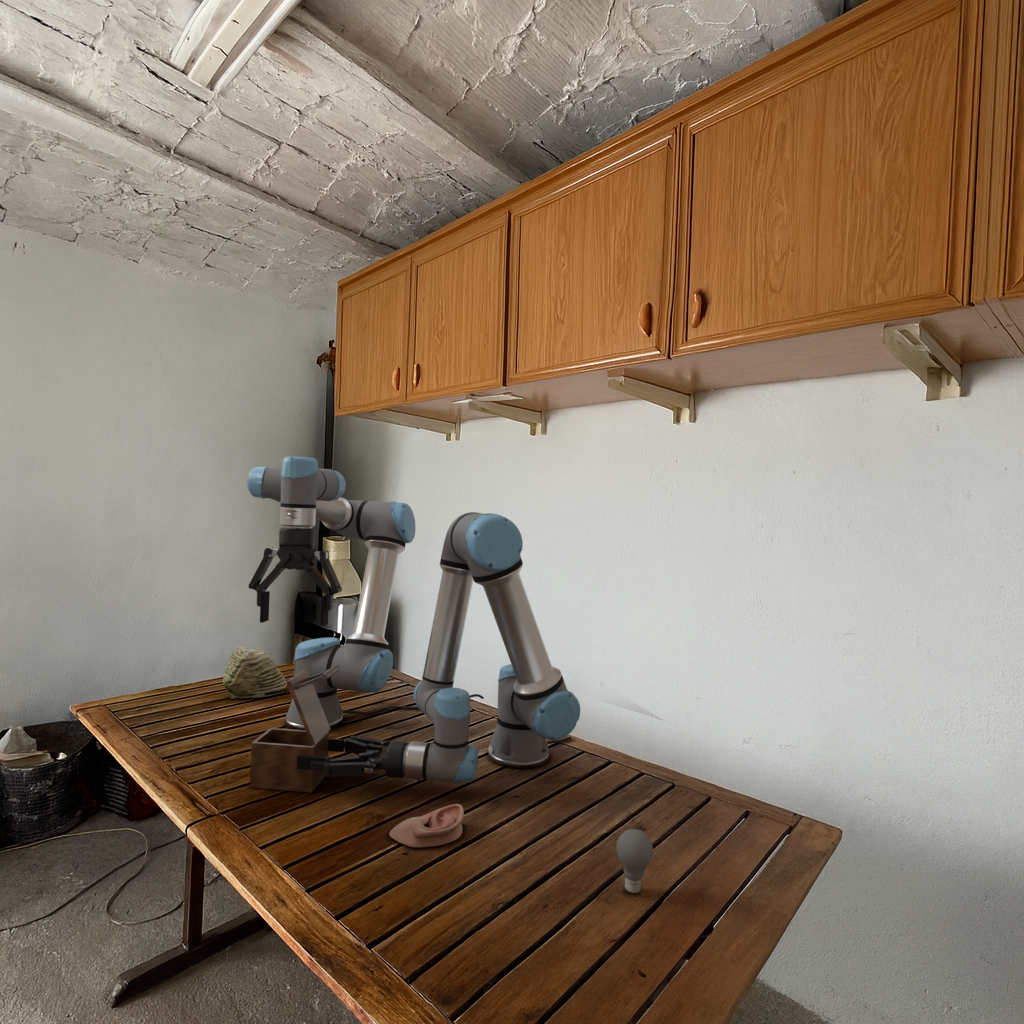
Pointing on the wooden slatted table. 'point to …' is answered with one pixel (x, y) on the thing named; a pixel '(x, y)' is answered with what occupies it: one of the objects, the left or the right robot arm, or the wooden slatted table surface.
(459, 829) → the anatomical model
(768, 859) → the wooden slatted table surface
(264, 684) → the fossil
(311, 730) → the lid
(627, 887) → the light bulb
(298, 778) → the chest
